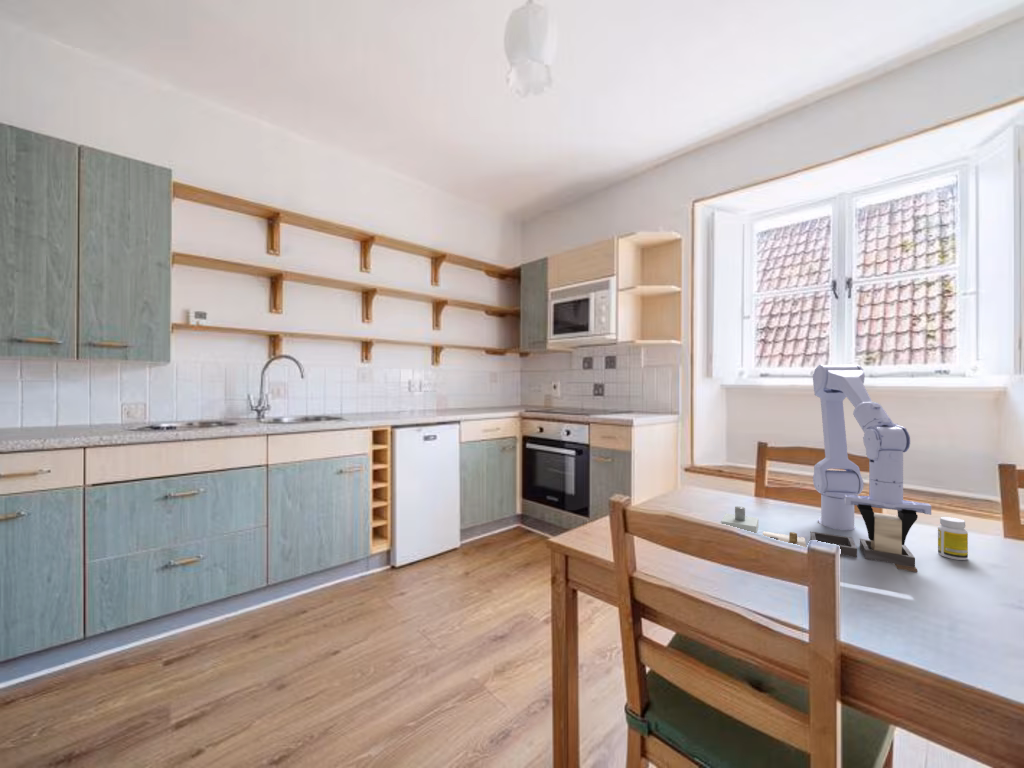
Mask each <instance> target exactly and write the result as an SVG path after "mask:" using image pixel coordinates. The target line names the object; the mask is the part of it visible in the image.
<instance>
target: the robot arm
mask: <svg viewBox="0 0 1024 768" xmlns="http://www.w3.org/2000/svg"><path fill="white" fill-rule="evenodd" d="M865 376H866V375H865V370H864V369H863V368H862V366H861V365H859V364H836V365H835V364H833V365H832V364H831V365H827V364H825V365H823V364H819V365H817V366H816V368H815V369H814V371H813V375H812V383H813V386H812V387H813V392H814V396H815V397H816V398H817V397H818V398H819V399H820V408H821V420H822V432H823V445H824V456H825V457H824V458H823V459H821V460H819V461H817V463H815V464H814V467H813V477H812V483H813V487H814V488H815V490H816V491H817V492H818V493H819V494H820V496H821V498H820V510H821V511H820V516H821V517H818V518H817V521H818V524H821V525H822V526H824V527H826V528H830V529H834V530H839V531H840V530H841V531H853V530H855V529H856V525H855V506H856V507H857V509H858V511H859V513H860V515H861V517H862V520H863V521H864V524H865V528H866V531H867V535H868V540H872V541H874V529H873V522H874V513H875V511H874V509H873V508H876V509H886V510H893V511H897V516H898V517H899V518H900V519H901V521H902V545H905V542H906V539H907V536H908V533H909V532H910V529H912V526H913V525H914V524H915V522H917V520H918V518H919V517H918V514H917V513H920V514H924V515H930V516H931V515H932V505H931V504H930V503H926V502H920V501H919V502H918V501H912V500H905V499H904V453H906V452H907V451H908V450H909V448H910V446H911V436H910V434H909V432H908V430H907V428H906V427H905V426H903V425H899V424H898V423H894V421H893V420H892V419H891V417H890V416H889V415H888V413H887V412H886V410H885V409H884V408H883V406H882V405H881V403H879V402H875V401H873V400H872V398H871V397H870V396H871V395H869V393H868V390H867V388H866V387H865V385H864V383H865ZM846 398H847V399H848V401H849V402H850V403H851V405H852V406H853V407H854V409H853V413H852V415H853V417H854V419H855V420H856V421H857V423H858V425H859V427H860V428H861V430H862V432H863V433H864V434H863V437H862V439H863V440H862V441H863V445H864V447H865V455H866V458H867V459H868V460H869V464H868V467H869V469H868V470H869V471H868V475H869V476H868V478H869V479H868V481H869V482H868V483H869V485H868V486H869V487H868V488H869V490H868V491H869V495H860V494H861V493H862V492H863V490H864V487H865V486H864V485H865V483H864V480H863V479H864V478H863V477H862V473H861V470H860V469H861V468H860V467H859V466H858V465H857V464H856V463H855V462H854V461H852V460H850V459H849V456H848V455H849V454H848V444H847V434H846V431H847V430H846V422H845V411H844V401H845V399H846ZM829 469H830V470H829ZM831 469H835V470H831ZM836 469H837V470H836ZM838 469H840V470H838ZM841 469H842V470H841Z"/></svg>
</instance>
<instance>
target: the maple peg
mask: <svg viewBox="0 0 1024 768" xmlns="http://www.w3.org/2000/svg"><path fill="white" fill-rule="evenodd" d="M873 529H874V541H872V540H871V548H872V549H873V550H875V551H881V552H888V553H894V554H901V555H902V521H901V519H900V518H899V517H898V514H897V515H895V514H890V513H889V514H888V513H881V512H874V522H873Z"/></svg>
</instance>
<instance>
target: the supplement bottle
mask: <svg viewBox="0 0 1024 768" xmlns="http://www.w3.org/2000/svg"><path fill="white" fill-rule="evenodd" d="M939 524H940V525H937V553H938V555H940V556H942V557H944V558H948V559H951V560H955V561H956V560H957V561H966V560H968V559H969V557H968V556H969V555H968V554H969V548H968V547H969V545H968V544H969V542H968V541H969V537H968V536H969V534H968V533H969V532H968V530H967V529H966V521H965V520H964V519H961V518H957V517H949V516H941V517H940V518H939Z"/></svg>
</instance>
